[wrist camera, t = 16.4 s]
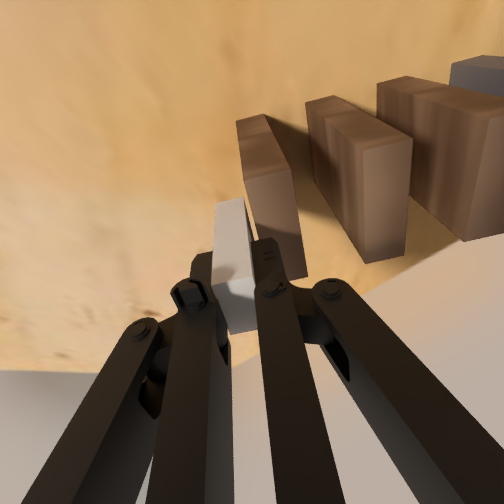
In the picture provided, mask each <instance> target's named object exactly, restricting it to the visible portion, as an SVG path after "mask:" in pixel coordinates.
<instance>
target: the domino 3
mask: <svg viewBox="0 0 504 504" xmlns="http://www.w3.org/2000/svg"><path fill="white" fill-rule="evenodd" d="M377 119H378V120H380V121H382V122H384V123H386V124H387V125H389V126H391V127H393V128H395V129H397V130H399V131H400V132H402V133H404V134H406V135H408V136H410V137H411V138H413V146H412V159H411V172H410V185H409V195H410V196H411V197H412V198H413V199H414V200H416V201H417V202H418V203H419V204H420V205H421V206H423V207H424V208H425V209H426V210H427V211H428V212H429V213H431V214H432V215H433V216H434V217H435V218H436V219H438V220H439V221H440V222H441V223H442V224H443V225H445V226H446V227H447V228H448V229H449V230H450V231H451V232H453V233H454V234H455V235H456V236H457V237H458V238H460V239H461V240H462V241H463V242H466V241H471V240H475V239H480V238H484V237H488V236H493V235H497V234H502V233H504V97H500V96H496V95H491V94H487V93H482V92H477V91H473V90H468V89H464V88H459V87H455V86H450V85H446V84H441V83H437V82H432V81H428V80H423V79H419V78H414V77H409V76H404V77H400V78H396V79H392V80H388V81H385V82H381V83H377Z"/></svg>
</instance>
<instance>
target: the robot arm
mask: <svg viewBox="0 0 504 504" xmlns="http://www.w3.org/2000/svg"><path fill="white" fill-rule="evenodd" d="M170 294H171V296H172V298H173V300H174V302H175V304H176V306H177V308H178V313H176V314H175V315H173V316H171V317H170V318H168V319H165V320H163V321H161V322H159V323H158V322H157V321H156V320H155V319H154V318H149V317H147V318H141V319H139V320H137V321H135V322H133V323H132V324H131V325H129V326H128V327H127V329H126V330H125V331H124V333H123V334H122V336H121V338H120V339H119V341H118V343H117V344H116V346H115V348H114V349H113V351H112V353H111V354H110V356H109V358H108V359H107V361H106V363H105V364H104V366H103V368H102V369H101V371H100V373H99V374H98V376H97V378H96V379H95V381H94V383H93V384H92V386H91V388H90V389H89V391H88V393H87V394H86V396H85V398H84V399H83V401H82V403H81V405H80V406H79V408H78V409H77V411H76V413H75V414H74V416H73V418H72V419H71V421H70V423H69V424H68V426H67V428H66V429H65V431H64V433H63V435H62V436H61V438H60V439H59V441H58V443H57V444H56V446H55V448H54V449H53V451H52V453H51V454H50V456H49V458H48V459H47V461H46V463H45V464H44V466H43V468H42V469H41V471H40V473H39V475H38V476H37V478H36V479H35V481H34V483H33V484H32V486H31V488H30V489H29V491H28V493H27V494H26V496H25V498H24V499H23V501H22V503H21V504H135V503H136V500H137V497H138V495H139V492H140V489H141V487H142V484H143V481H144V478H145V476H146V473H147V470H148V467H149V465H150V462H151V459H152V457H153V461H152V467H151V473H150V479H149V485H148V491H147V497H146V502H145V504H234V470H233V469H234V468H233V467H234V466H233V422H232V379H231V378H232V377H231V345H230V342H229V339H228V334H227V328H228V330H229V333H230V335H233V334H238V333H243V332H248V331H252V330H257V329H258V337H259V346H260V355H261V364H262V373H263V382H264V392H265V401H266V410H267V419H268V429H269V437H270V446H271V456H272V465H273V474H274V484H275V493H276V502H277V504H346V503H345V499H344V496H343V492H342V488H341V485H340V480H339V476H338V472H337V469H336V465H335V461H334V457H333V453H332V449H331V445H330V441H329V437H328V433H327V429H326V426H325V422H324V418H323V414H322V410H321V406H320V402H319V398H318V395H317V390H316V387H315V383H314V379H313V375H312V371H311V367H310V363H309V360H308V355H307V352H306V348H305V344H304V343H308V344H319V345H320V347H321V349H322V351H323V352H324V354H325V355H326V357H327V359H328V360H329V362H330V363H331V365H332V366H333V368H334V370H335V371H336V373H337V374H338V376H339V377H340V379H341V381H342V382H343V384H344V385H345V387H346V388H347V390H348V392H349V393H350V395H351V396H352V398H353V400H354V401H355V402H356V404H357V406H358V407H359V409H360V411H361V412H362V414H363V415H364V417H365V418H366V420H367V422H368V423H369V425H370V426H371V428H372V429H373V431H374V433H375V434H376V436H377V437H378V439H379V440H380V442H381V443H382V445H383V447H384V448H385V450H386V452H387V453H388V455H389V456H390V458H391V459H392V461H393V463H394V464H395V466H396V467H397V469H398V470H399V472H400V474H401V475H402V477H403V478H404V480H405V481H406V483H407V484H408V486H409V488H410V489H411V491H412V492H413V494H414V496H415V497H416V499H417V500H418V502H419V503H420V504H504V449H503V448H502V447H501V446H500V445H499V444H498V443H497V442H496V440H495V439H494V438H493V437H492V436H491V435H490V434H489V433H488V432H487V431H486V430H485V429H484V428H483V427H482V426H481V424H479V422H478V421H477V420H476V419H475V418H474V417H473V416H472V415H471V414H470V413H469V412H468V411H467V410H466V409H465V407H464V406H462V404H461V403H460V402H459V401H458V400H457V399H456V398H455V397H454V396H453V395H452V394H451V393H450V392H449V390H448V389H447V388H446V387H445V386H444V385H443V384H442V383H441V382H440V381H439V380H438V379H437V378H436V377H435V376H434V374H433V373H431V371H430V370H429V369H428V368H427V367H426V366H425V365H424V364H423V363H422V362H421V361H420V360H419V359H418V358H417V356H416V355H415V354H414V353H413V352H412V351H411V350H410V349H409V348H408V347H407V346H406V345H405V344H404V343H403V342H402V340H400V338H399V337H398V336H397V335H396V334H395V333H394V332H393V331H392V330H391V329H390V328H389V327H388V326H387V325H386V324H385V322H384V321H383V320H382V319H381V318H380V317H379V316H378V315H377V314H376V313H375V312H374V311H373V310H372V309H371V307H369V305H368V304H367V303H366V302H365V301H364V300H363V299H362V298H361V297H360V296H359V295H358V294H357V293H356V292H355V290H354V289H353V288H352V287H351V286H350V285H349V284H348V283H346V282H345V281H343V280H340V279H337V278H328V279H324V280H321V281H319V282H317V283H316V284H315V285H314V287H313V288H312V289H310V288H300V287H296V286H294V285H292V284H291V283H290V282H289V281H288V279H287V276H286V273H285V269H284V265H283V261H282V257H281V253H280V249H279V245H278V242H277V241H275V240H274V239H273V238H272V237H270V238H266V239H261V240H257V241H254V237H253V233H252V229H251V225H250V221H249V217H248V213H247V209H246V205H245V201H244V197H239V198H235V199H231V200H226V201H222V202H218V203H216V205H215V223H214V240H213V251H210V252H206V253H201V254H197V255H196V257H195V258H194V260H193V261H192V264H191V271H190V277H189V278H186V279H183V280H182V281H180V282H178V283H177V284H176V285H175V286H174V287H173V288H172V290H171V292H170ZM153 454H154V455H153Z"/></svg>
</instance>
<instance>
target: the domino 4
mask: <svg viewBox="0 0 504 504" xmlns="http://www.w3.org/2000/svg"><path fill="white" fill-rule="evenodd" d="M449 85H450V86H455V87H459V88H464V89H468V90H473V91H477V92H482V93H487V94H491V95H496V96H500V97H504V57H498V56H485V55H482V56H478V57H474V58H470V59H466V60H463V61H459V62H455V63H452V66H451V74H450V81H449Z"/></svg>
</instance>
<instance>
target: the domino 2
mask: <svg viewBox="0 0 504 504" xmlns="http://www.w3.org/2000/svg"><path fill="white" fill-rule="evenodd" d="M305 106H306V115H307V123H308V131H309V140H310V148H311V157H312V165H313V174H314V182H315V183H316V185H317V187H318V188H319V190H320V192H321V193H322V195H323V196H324V198H325V200H326V201H327V203H328V205H329V206H330V208H331V209H332V211H333V213H334V214H335V216H336V217H337V219H338V221H339V222H340V224H341V226H342V227H343V229H344V230H345V232H346V234H347V235H348V237H349V239H350V240H351V242H352V243H353V245H354V247H355V248H356V250H357V252H358V253H359V255H360V256H361V258H362V260H363V261H364V263H365V264H368V263H372V262H377V261H381V260H386V259H390V258H395V257H399V256H404V251H405V238H406V224H407V211H408V198H409V185H410V172H411V159H412V146H413V138H411V137H410V136H408V135H406V134H404V133H402V132H400V131H399V130H397V129H395V128H393V127H391V126H389V125H387V124H386V123H384V122H382V121H380V120H378V119H376V118H375V117H373V116H371V115H369V114H367V113H365V112H364V111H362V110H360V109H358V108H356V107H354V106H353V105H351V104H349V103H347V102H345V101H343V100H342V99H340V98H338V97H336V96H334V95H332V96H328V97H324V98H321V99H317V100H313V101H309V102H306V103H305Z"/></svg>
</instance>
